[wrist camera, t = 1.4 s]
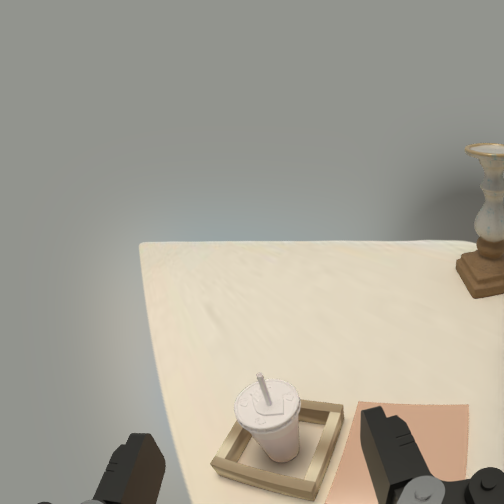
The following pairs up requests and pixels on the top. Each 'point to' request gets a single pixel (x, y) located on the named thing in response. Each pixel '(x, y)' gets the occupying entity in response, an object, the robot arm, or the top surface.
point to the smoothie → (271, 416)
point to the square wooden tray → (275, 482)
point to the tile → (426, 436)
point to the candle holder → (487, 227)
